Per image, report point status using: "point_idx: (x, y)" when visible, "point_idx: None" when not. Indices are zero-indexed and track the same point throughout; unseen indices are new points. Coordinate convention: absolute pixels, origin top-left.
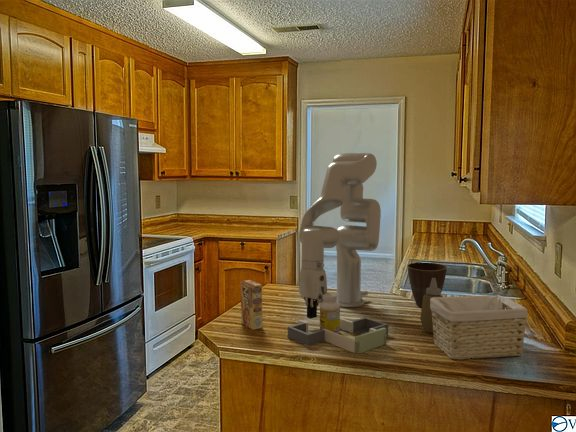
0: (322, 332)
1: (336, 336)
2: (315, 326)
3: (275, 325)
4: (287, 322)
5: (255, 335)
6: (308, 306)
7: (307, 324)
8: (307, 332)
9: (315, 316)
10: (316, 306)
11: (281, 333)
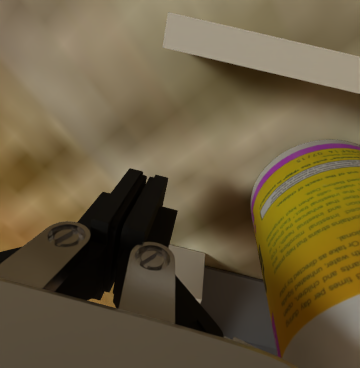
0: None
1: None
2: (171, 148)
3: (10, 248)
4: (4, 184)
5: None
6: (100, 294)
7: (200, 295)
8: (203, 259)
9: (165, 191)
10: (164, 263)
11: (113, 307)
